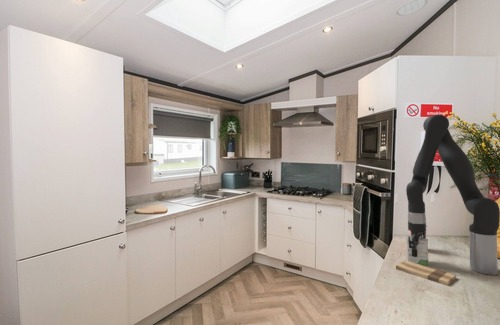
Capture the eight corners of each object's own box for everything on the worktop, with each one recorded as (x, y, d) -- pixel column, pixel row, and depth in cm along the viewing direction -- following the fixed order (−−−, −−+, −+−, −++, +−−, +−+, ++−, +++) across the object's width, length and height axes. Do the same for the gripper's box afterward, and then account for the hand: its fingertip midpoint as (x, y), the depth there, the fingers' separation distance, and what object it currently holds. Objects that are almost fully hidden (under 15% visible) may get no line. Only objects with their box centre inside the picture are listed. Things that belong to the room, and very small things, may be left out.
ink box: (407, 262, 126) (406, 238, 126) (408, 258, 130) (407, 235, 130) (428, 265, 121) (427, 241, 121) (428, 262, 125) (427, 238, 125)
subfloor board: (405, 263, 125) (405, 260, 125) (456, 278, 108) (456, 274, 108) (395, 269, 119) (395, 265, 119) (447, 285, 103) (447, 281, 103)
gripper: (414, 217, 133) (415, 249, 133) (401, 222, 124) (402, 256, 124) (431, 220, 126) (432, 253, 127) (419, 225, 118) (419, 261, 118)
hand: (417, 254), depth 126 cm, fingers closed on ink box, 6 cm apart
